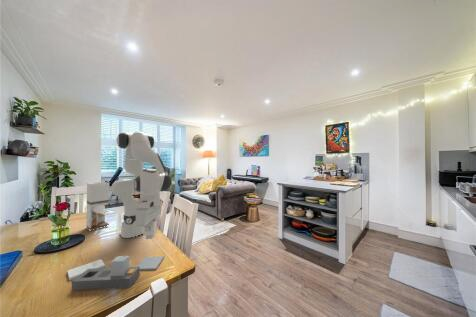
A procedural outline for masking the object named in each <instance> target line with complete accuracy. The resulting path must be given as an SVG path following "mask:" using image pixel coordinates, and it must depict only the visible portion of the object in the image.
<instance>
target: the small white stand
mask: <svg viewBox="0 0 476 317" xmlns="http://www.w3.org/2000/svg"><path fill="white" fill-rule="evenodd" d="M109 204H110V182H109V181H108V182H107V181H97V182H96V181H95V182H86V222H85V224H86V227H87V228H88V229H90V230H93V229H97V228H100V227H104V226H107V225H109V224H110V223H108V222H106V205H109ZM109 226H110V225H109ZM87 228H86V229H87ZM88 229H87V230H88Z"/></svg>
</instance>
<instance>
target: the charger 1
mask: <svg viewBox="0 0 476 317" xmlns="http://www.w3.org/2000/svg"><path fill="white" fill-rule="evenodd" d="M129 267H130V255H121V256H119V255H118V256H116V257H114V259H113V260H111V261H110V268H111V276H124V275H125V274H126V273H127V271H128V270H129Z"/></svg>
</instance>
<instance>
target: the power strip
mask: <svg viewBox="0 0 476 317" xmlns="http://www.w3.org/2000/svg"><path fill="white" fill-rule="evenodd" d="M139 276H141V271H140V267H136V266H129V270H128V271H127V273H126V274H125V275H124V276H111V267H104V268H96V269H87V270H86V271H85V272H83V273H82V274H81V275H80V276H78V277H77V278H75V279H72V280H71V292H72V291H73V292H74V291H89V290H90V291H93V290H110V289H111V290H113V289H130V288H131V286H133V284H134V283H135V281H136V280H137V279H138V277H139Z"/></svg>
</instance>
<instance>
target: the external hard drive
mask: <svg viewBox="0 0 476 317" xmlns="http://www.w3.org/2000/svg"><path fill="white" fill-rule="evenodd" d="M96 268H106V264H105V263H104V261H103V260H102V259H101V258H100V259H98V260H94V261H92V262H89V263H86V264H81V265H79V266H77V267H74V268H71V269H68V270H67V272H66V273H67V277H68V281H73V280H74V279H76V278H77V277H78V276H80V275H81V274H82V273H83V272H85V271H86V270H87V269H96Z"/></svg>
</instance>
